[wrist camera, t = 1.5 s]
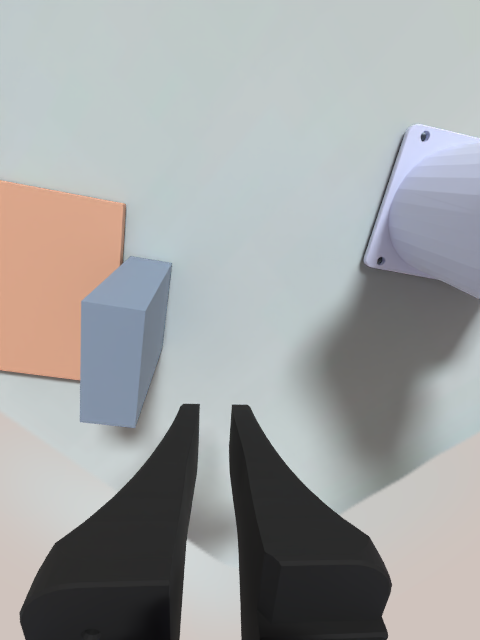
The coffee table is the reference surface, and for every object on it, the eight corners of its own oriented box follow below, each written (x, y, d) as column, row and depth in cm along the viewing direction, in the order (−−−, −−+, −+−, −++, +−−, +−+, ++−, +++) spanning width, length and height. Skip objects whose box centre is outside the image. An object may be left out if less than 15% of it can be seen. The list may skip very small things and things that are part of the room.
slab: (171, 263, 21) (145, 311, 14) (162, 348, 23) (135, 428, 16) (130, 256, 21) (81, 301, 13) (124, 342, 23) (79, 421, 16)
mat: (125, 204, 20) (123, 204, 19) (115, 379, 24) (113, 384, 24) (-24, 175, 19) (-31, 175, 18) (-5, 364, 23) (-11, 368, 23)
